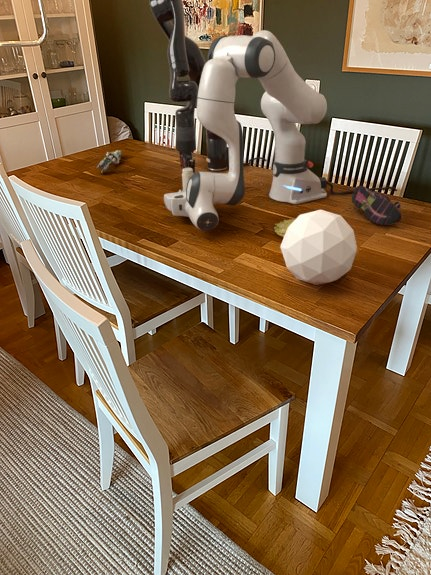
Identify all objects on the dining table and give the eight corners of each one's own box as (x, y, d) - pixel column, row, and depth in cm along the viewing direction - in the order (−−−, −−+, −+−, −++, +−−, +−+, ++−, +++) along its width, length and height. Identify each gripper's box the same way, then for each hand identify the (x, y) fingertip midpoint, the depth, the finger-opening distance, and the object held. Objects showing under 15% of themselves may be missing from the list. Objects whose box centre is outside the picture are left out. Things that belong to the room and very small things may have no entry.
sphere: (293, 297, 126) (258, 236, 124) (350, 261, 128) (317, 201, 126) (319, 302, 107) (278, 231, 105) (385, 260, 109) (347, 189, 107)
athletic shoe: (393, 214, 141) (421, 210, 145) (357, 172, 153) (384, 169, 157) (376, 239, 150) (403, 235, 154) (344, 197, 161) (370, 194, 166)
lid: (186, 180, 174) (186, 176, 174) (178, 177, 178) (178, 173, 177) (196, 177, 177) (196, 173, 176) (188, 174, 181) (188, 170, 180)
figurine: (101, 154, 197) (119, 141, 223) (91, 167, 200) (110, 152, 227) (114, 165, 199) (130, 151, 225) (103, 178, 203) (121, 162, 229)
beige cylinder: (190, 204, 169) (188, 166, 161) (197, 207, 167) (196, 169, 158) (181, 208, 167) (179, 169, 159) (189, 211, 164) (187, 172, 156)
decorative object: (286, 211, 157) (342, 219, 147) (286, 217, 158) (341, 226, 148) (260, 233, 142) (319, 243, 133) (260, 240, 144) (319, 251, 134)
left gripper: (171, 134, 174) (174, 177, 183) (181, 143, 162) (184, 187, 172) (189, 132, 176) (191, 174, 185) (201, 141, 165) (202, 185, 174)
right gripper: (225, 191, 153) (215, 179, 164) (167, 199, 149) (160, 185, 160) (225, 209, 156) (215, 195, 168) (168, 216, 152) (162, 202, 164)
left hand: (188, 180), depth 178 cm, fingers closed on lid, 5 cm apart
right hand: (188, 190), depth 164 cm, fingers closed on beige cylinder, 4 cm apart
